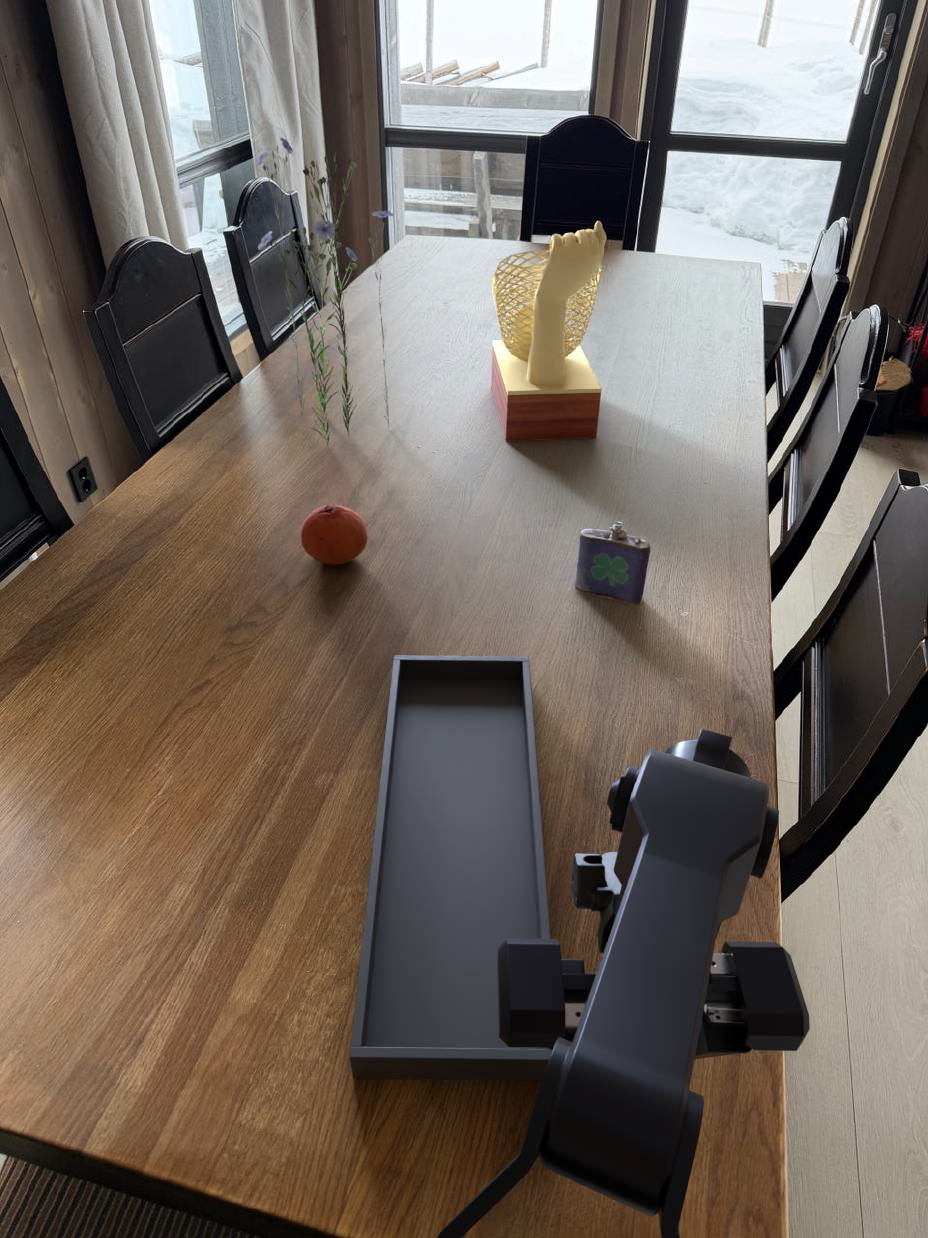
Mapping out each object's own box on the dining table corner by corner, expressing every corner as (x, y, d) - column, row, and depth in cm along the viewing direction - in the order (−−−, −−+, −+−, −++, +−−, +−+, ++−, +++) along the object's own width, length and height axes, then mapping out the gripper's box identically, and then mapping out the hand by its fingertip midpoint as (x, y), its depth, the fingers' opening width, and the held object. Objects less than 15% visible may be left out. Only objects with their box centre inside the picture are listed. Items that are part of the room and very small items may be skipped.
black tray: (556, 1081, 66) (560, 1060, 64) (352, 1079, 66) (349, 1057, 64) (527, 679, 102) (529, 656, 100) (395, 677, 102) (393, 655, 100)
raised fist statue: (600, 442, 150) (625, 227, 128) (497, 445, 148) (505, 228, 127) (574, 384, 169) (592, 189, 147) (483, 386, 168) (487, 190, 146)
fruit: (291, 565, 120) (284, 516, 115) (327, 535, 126) (322, 486, 121) (345, 583, 116) (340, 533, 112) (379, 550, 123) (376, 501, 118)
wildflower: (423, 439, 150) (417, 148, 122) (300, 470, 141) (263, 164, 113) (368, 392, 165) (352, 124, 137) (253, 418, 156) (210, 136, 128)
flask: (571, 591, 116) (579, 522, 109) (577, 579, 118) (585, 511, 111) (639, 607, 113) (651, 538, 106) (644, 595, 115) (656, 526, 108)
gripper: (786, 817, 56) (737, 949, 66) (499, 814, 56) (492, 946, 66) (843, 979, 47) (777, 1104, 57) (504, 975, 47) (495, 1100, 57)
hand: (629, 1054), depth 60 cm, fingers closed on pill bottle, 6 cm apart
